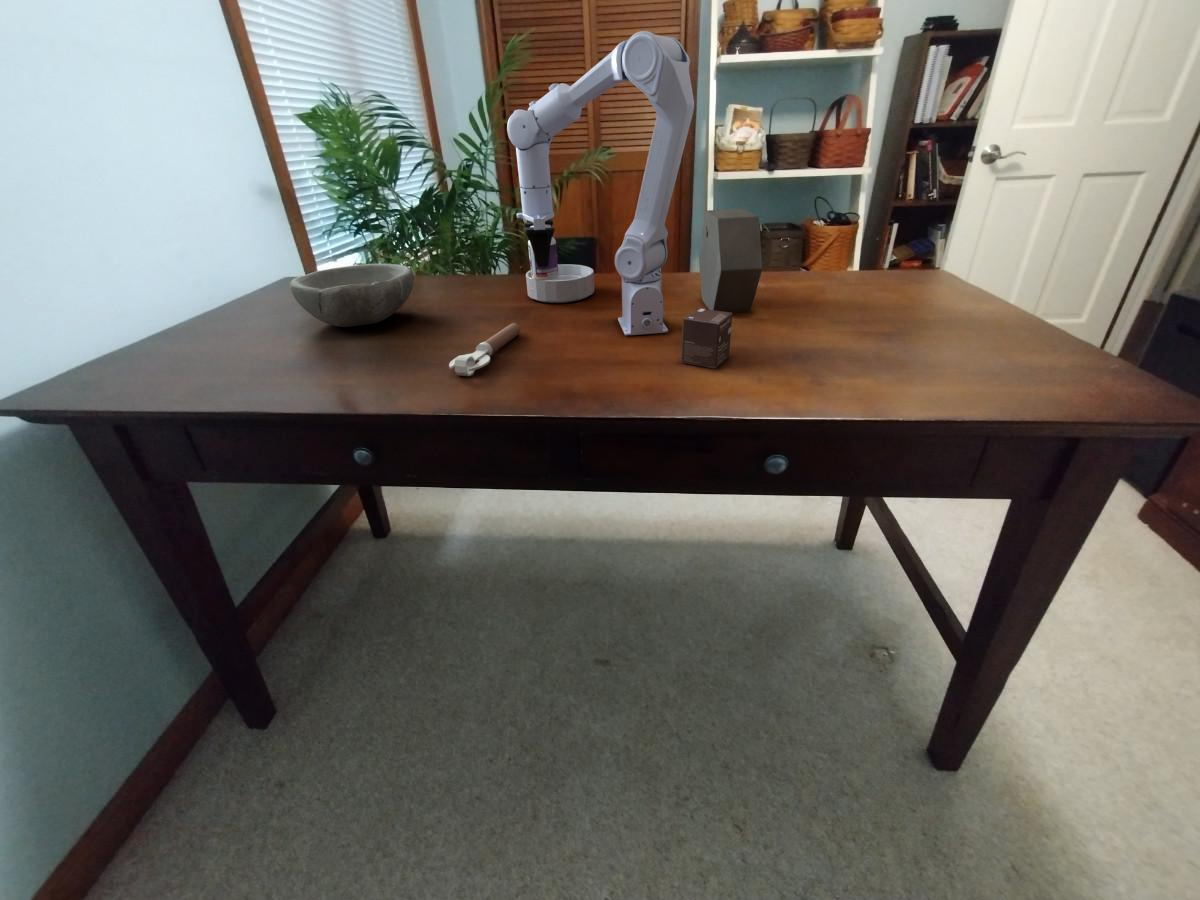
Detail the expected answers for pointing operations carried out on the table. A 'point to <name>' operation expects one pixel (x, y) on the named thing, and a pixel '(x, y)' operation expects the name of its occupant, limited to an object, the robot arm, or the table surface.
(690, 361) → the box
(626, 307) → the robot arm
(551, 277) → the pill bottle
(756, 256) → the planter
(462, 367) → the manual can opener
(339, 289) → the bowl
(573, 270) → the round gray tray
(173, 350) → the table surface
